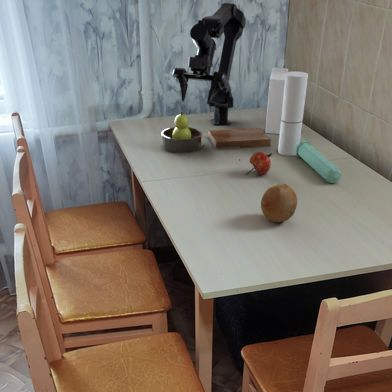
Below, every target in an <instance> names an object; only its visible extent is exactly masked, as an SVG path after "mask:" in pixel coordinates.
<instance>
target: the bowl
mask: <svg viewBox="0 0 392 392" xmlns="http://www.w3.org/2000/svg"><path fill="white" fill-rule="evenodd" d="M175 128H176V126H174V127H173V126H172V127H168V128H165V129H164V130H162V131H161V133H160V135H161V137H160V138H161V148H162V149H163V150H165V151H167V152H170V153H174V154H175V153H177V154H186V153H187V154H189V153H194V152H197V151H199V150H201V149H202V147H203V132H202V130H200V129H199V128H195V127H190V126H188V127H187V128H188V129H189V130H190V132H191V138H190V139H173V137H172V134H173V131H174V129H175Z"/></svg>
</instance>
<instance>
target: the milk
mask: <svg viewBox="0 0 392 392" xmlns="http://www.w3.org/2000/svg"><path fill="white" fill-rule="evenodd" d="M287 72H289V68H288V67H287V68H285V67H272V68H271V73H270V76H269V81H268V82H269V83H268V84H269V85H268V93H267V94H268V96H267V106H266V119H265V131H264V132H265V133H266V134H275V135H280V127H281V117H282V107H283V97H284V87H285V78H286V73H287Z"/></svg>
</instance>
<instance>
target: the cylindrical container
mask: <svg viewBox="0 0 392 392" xmlns="http://www.w3.org/2000/svg"><path fill="white" fill-rule="evenodd" d="M308 79H309V73H308V72H304V71H288V72H287V73H286V78H285V87H284V97H283V107H282V117H281V127H280V134H279V136H278V138H279V139H278V147H277V153H278V154H279V155H282V156H286V157H287V156H288V157H289V156H290V157H291V156H297V154H296V153H295V152H296V146H297V145H298V144H299V143H300V142H301V136H302V127H303V121H304V111H305V105H306V104H305V103H306V96H307V95H306V94H307V87H308Z"/></svg>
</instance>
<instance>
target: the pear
mask: <svg viewBox="0 0 392 392" xmlns="http://www.w3.org/2000/svg"><path fill="white" fill-rule="evenodd" d="M183 113H184V112H183V111H180V113H179V114H177V115H176V117H175V118H174V121H173V122H174V127H176V128H175V129H174V131H173V134H172V137H173V139H190V138H191V132H190V130H189V129H188V128H187V127H189V124H190V120H189V117H188V116H187V115H186V114H183Z"/></svg>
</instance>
